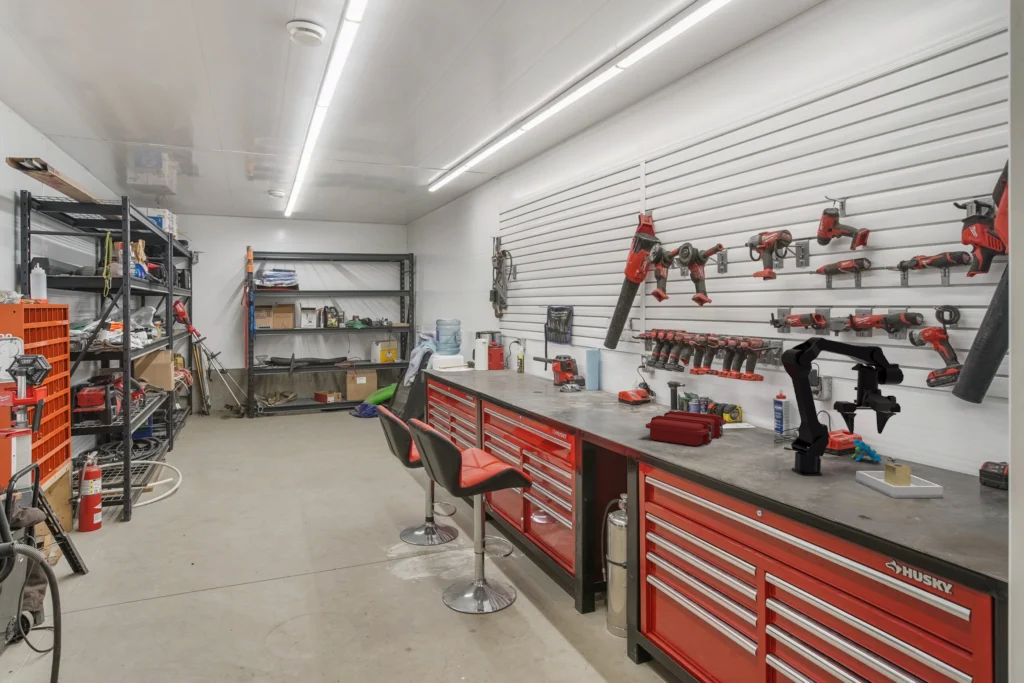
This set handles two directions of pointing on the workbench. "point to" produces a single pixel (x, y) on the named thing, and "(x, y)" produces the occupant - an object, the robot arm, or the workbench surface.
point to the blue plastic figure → (865, 451)
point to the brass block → (897, 474)
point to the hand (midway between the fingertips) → (865, 433)
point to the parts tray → (915, 490)
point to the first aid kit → (686, 428)
